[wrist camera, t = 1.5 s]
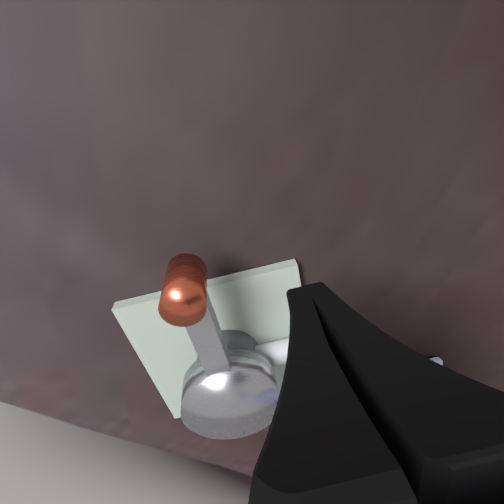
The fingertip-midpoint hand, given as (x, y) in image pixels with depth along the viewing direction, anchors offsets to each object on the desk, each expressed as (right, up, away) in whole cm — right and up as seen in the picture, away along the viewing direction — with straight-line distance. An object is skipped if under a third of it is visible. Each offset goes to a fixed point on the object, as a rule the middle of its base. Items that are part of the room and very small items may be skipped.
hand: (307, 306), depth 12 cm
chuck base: (-3, -4, +12) cm, 13 cm away
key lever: (-4, -3, +7) cm, 9 cm away
